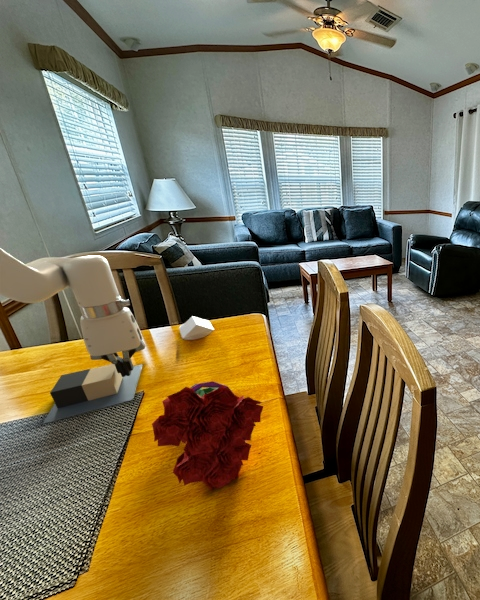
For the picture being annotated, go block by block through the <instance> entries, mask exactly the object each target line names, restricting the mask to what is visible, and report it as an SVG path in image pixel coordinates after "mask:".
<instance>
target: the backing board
mask: <svg viewBox="0 0 480 600" xmlns="http://www.w3.org/2000/svg"><path fill="white" fill-rule="evenodd" d="M143 365H144V364H142V363H141V364H137V365H133V367H134V369H133V370H132V371H131V374H130V375H129V376H125V377H123V378H122V381H121V384H120V387H119V389H118V392H117V394H113V395H109V396H105V397H101V398H97V399H93V400H89V401H85V402H81V403H77V404H73V405H69V406H65V407H61V408H57V406H56V404H55V403H53V405H52V407H51V408H50V410H49V412H48V413H47V415H46V416H45V418H44V420H43V422H42V424H41V425H43V424H44V425H45V424H48V423H51V422H56V421H60V420H63V419H66V418H70V417H74V416H78V415H82V414H86V413H90V412H93V411H97V410H101V409H104V408H108V407H112V406H115V405H119V404H123V403H126V402H130V401H133V400H134V399H135V398H134V397H135V394H136V391H137V387H138V383H139V380H140V376H141V372H142V370H143Z"/></svg>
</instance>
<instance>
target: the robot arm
mask: <svg viewBox="0 0 480 600" xmlns="http://www.w3.org/2000/svg"><path fill="white" fill-rule="evenodd" d="M69 288H70V289H71V291H72V294H73V296H74V298H75V301H76V303H77V306H78V308H79V311H80V313H81V316H80V318H79V321H80V323H79V324H80V330H81V335H82V339H83V342H84V344H85V348H86V351H87V353H88V354H89V357H90V359H91V360H92V361H99V360H100V361H101V360H104V361H106V362H109V363H110V364H115V367H116V369H117V372H118V373H121V376H122V377H125V376H129V375H130V374H131V371H132V370H133V369H134V367H133V366H134V364H133V362H132V359H131V358H132V357H133V356H134V355H135V354H136V353H138V352H141V351H143V350H145V348H146V345H147V344H146V343H144V341H143V334H142V331H141V328H140V326H139V325H138V321H137V320H136V318H135V316H134V314H133V313H132V311H131V309H130V308H129V307H127V306H131V301H130V300H129V299H123V298H122V296H120V292H119V289H118V288H117V284H116V281H115V278H114V275H113V273H112V269H111V266H110V264H109V261H108V260H107V259H106V258H105V257H104V256H102V255H83V256H77V257H59V256H58V257H56V256H53V257H52V256H47V257H41V258H37V259H35V260H32V261H30V262H27V263H23V262H22V261H20V260H19V259H17V258H15V257H14V256H13V255H11V254H10V253H8V252H6V251H5V250H4V249H2V248H1V247H0V295H1V296H3V297H5V298H7V299H10V300H13V301H15V302H20V303H24V304H36V303H41V302H45V301H46V300H48V299H50V298H52V297H54V296H55V295H56V294H58V293H59V292H62V291H64V290H66V289H69ZM119 353H122V357H121V356H120V355H119Z"/></svg>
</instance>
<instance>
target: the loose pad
mask: <svg viewBox="0 0 480 600" xmlns="http://www.w3.org/2000/svg"><path fill="white" fill-rule="evenodd" d="M89 369H90V371H89V373H88V374H87V376H86V378H85V380H84V382H83V384H82V388H83V390H84V392H85V394H86V397H87V399H88V401H89V400H93V399H97V398H101V397H105V396H109V395H113V394H117V392H118V389H119V387H120V384H121V381H122V378H123V377H122V376H121V373H118V372H117V369H116V367H115V364H112V363H110V364H106V365H102V366H98V367H93V368H89Z"/></svg>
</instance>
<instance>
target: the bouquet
mask: <svg viewBox="0 0 480 600" xmlns="http://www.w3.org/2000/svg"><path fill="white" fill-rule="evenodd" d="M166 397H167V398H165V399H163V400H162V402H161V403H162V406H163V414H161V415H158V417H157V418H155V420H154V421H153V422H152V423H151V426H152V431H153V442H154V443H155V442H157V447H168V446H173V447H180V445H181V443H183V444H185V445H184V447H183V451H184V452H182V453H181V454H180V455H178V457H177V458H176V462H175V464H174V467H173V468H172V469H173V470H172V474H173V475H174V476H175V477H177V481H178V483H179V484H181V482H182V483H183V486H187V485H190V484H195V483H200V482H201V483H203V484H204V485H205V486H207V487H208V489H209V490H210V491H212V490H213V488H214V489H215V488H217V489H221V488H222V487H224V486H226V485H228V484H230V483H231V482H232V480H234V481H235V480H236V478H239V476H240V475H239V474H240V471H241V468H242V466H244V462H243V461H249V457H250V452H251V448H252V444H250V443H248V442H251V441H252V435H253V431H254V428H255V427H256V425H257V423H261V416H262V413H263V409H264V406H263V405H260V404H262V402H263V401H259V400H256V399H253V398H252V397H250V396H247V397H245V395H242V396H240V397H239V396H238V395H236V394H235V393H234V392H233V391H232V390H231V388H230V387H229V386H228V385H225V384H221V383H219V382H217V381H213V380H212V381H206V382H201V383H195V384H193V385H192V386H190V387H188V386H185V387H183V388H181V389H180V390H179V391H177V392H174V393H171V394H169V395H167V396H166Z"/></svg>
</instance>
